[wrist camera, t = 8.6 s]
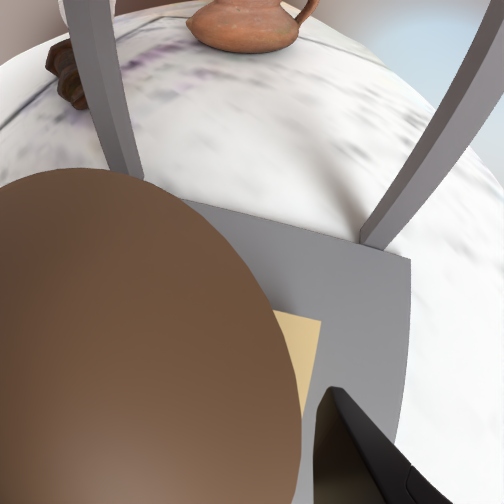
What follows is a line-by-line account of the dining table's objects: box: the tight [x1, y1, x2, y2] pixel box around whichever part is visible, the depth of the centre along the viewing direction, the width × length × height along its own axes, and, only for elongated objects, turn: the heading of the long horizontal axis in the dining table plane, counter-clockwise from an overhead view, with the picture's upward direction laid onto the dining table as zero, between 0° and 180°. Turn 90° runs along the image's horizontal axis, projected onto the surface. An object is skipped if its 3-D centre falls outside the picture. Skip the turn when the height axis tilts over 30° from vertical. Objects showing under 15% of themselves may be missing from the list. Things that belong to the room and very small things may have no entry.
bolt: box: [45, 38, 89, 110], centre depth 26 cm, size 6×5×15 cm
